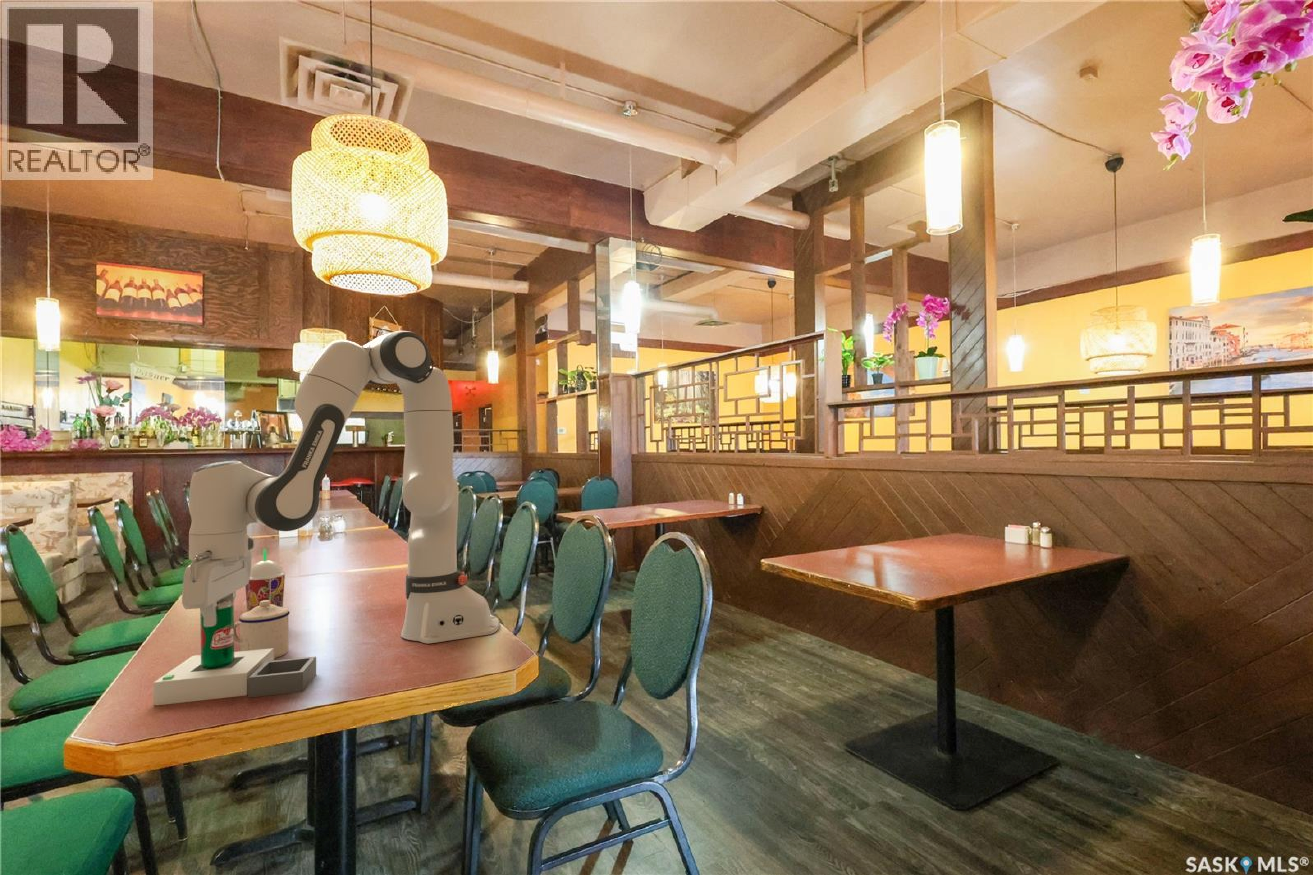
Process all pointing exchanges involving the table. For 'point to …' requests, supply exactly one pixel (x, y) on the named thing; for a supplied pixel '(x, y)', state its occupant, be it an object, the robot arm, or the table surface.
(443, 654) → the table surface
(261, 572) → the smoothie
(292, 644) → the table surface
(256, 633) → the teacup with lid
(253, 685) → the grey square tray
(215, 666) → the soda can
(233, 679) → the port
